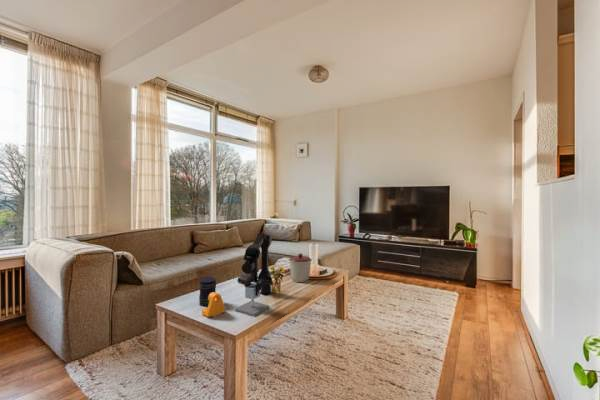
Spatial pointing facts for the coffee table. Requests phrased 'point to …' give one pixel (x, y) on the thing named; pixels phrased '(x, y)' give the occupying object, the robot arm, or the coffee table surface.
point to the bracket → (214, 305)
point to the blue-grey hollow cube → (251, 292)
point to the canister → (300, 268)
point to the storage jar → (206, 290)
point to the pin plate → (252, 308)
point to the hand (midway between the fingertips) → (252, 294)
